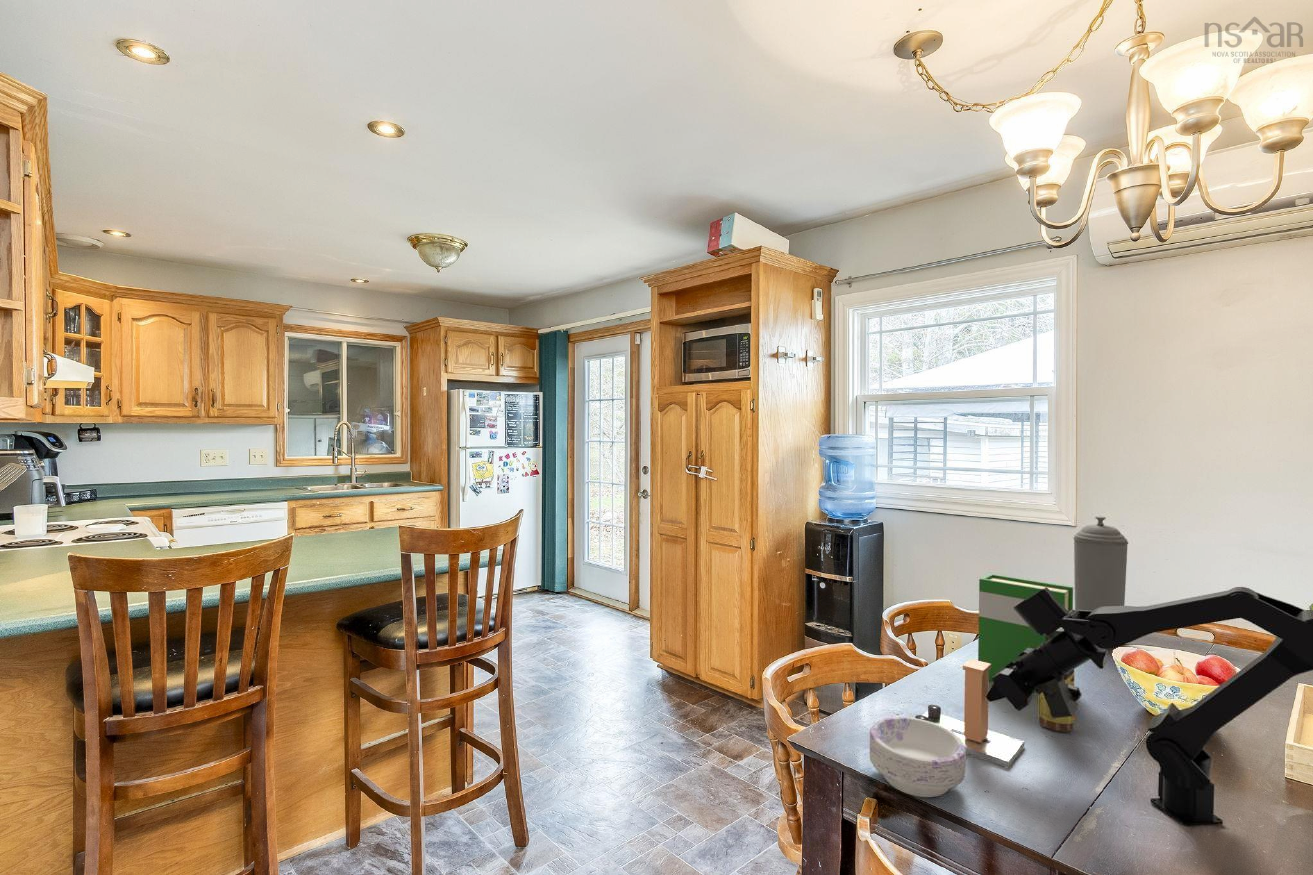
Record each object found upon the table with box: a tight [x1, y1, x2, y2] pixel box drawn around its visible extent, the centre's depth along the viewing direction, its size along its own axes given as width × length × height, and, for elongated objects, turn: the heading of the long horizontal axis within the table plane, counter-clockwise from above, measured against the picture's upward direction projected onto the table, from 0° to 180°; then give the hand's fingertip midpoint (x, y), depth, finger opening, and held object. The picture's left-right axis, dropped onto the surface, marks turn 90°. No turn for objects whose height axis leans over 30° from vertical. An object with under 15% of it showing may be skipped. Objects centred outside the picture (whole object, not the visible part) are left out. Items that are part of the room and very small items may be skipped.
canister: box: [1073, 515, 1129, 611], centre depth 180 cm, size 13×13×35 cm
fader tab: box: [962, 658, 991, 743], centre depth 122 cm, size 4×5×14 cm
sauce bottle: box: [1037, 627, 1075, 733], centre depth 129 cm, size 6×6×20 cm
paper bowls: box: [869, 716, 967, 798], centre depth 109 cm, size 15×15×8 cm
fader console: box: [914, 704, 1025, 769], centre depth 124 cm, size 18×10×3 cm, turn 46°
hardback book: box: [977, 573, 1074, 695], centre depth 150 cm, size 18×7×24 cm, turn 44°
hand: (988, 698), depth 121 cm, fingers closed
